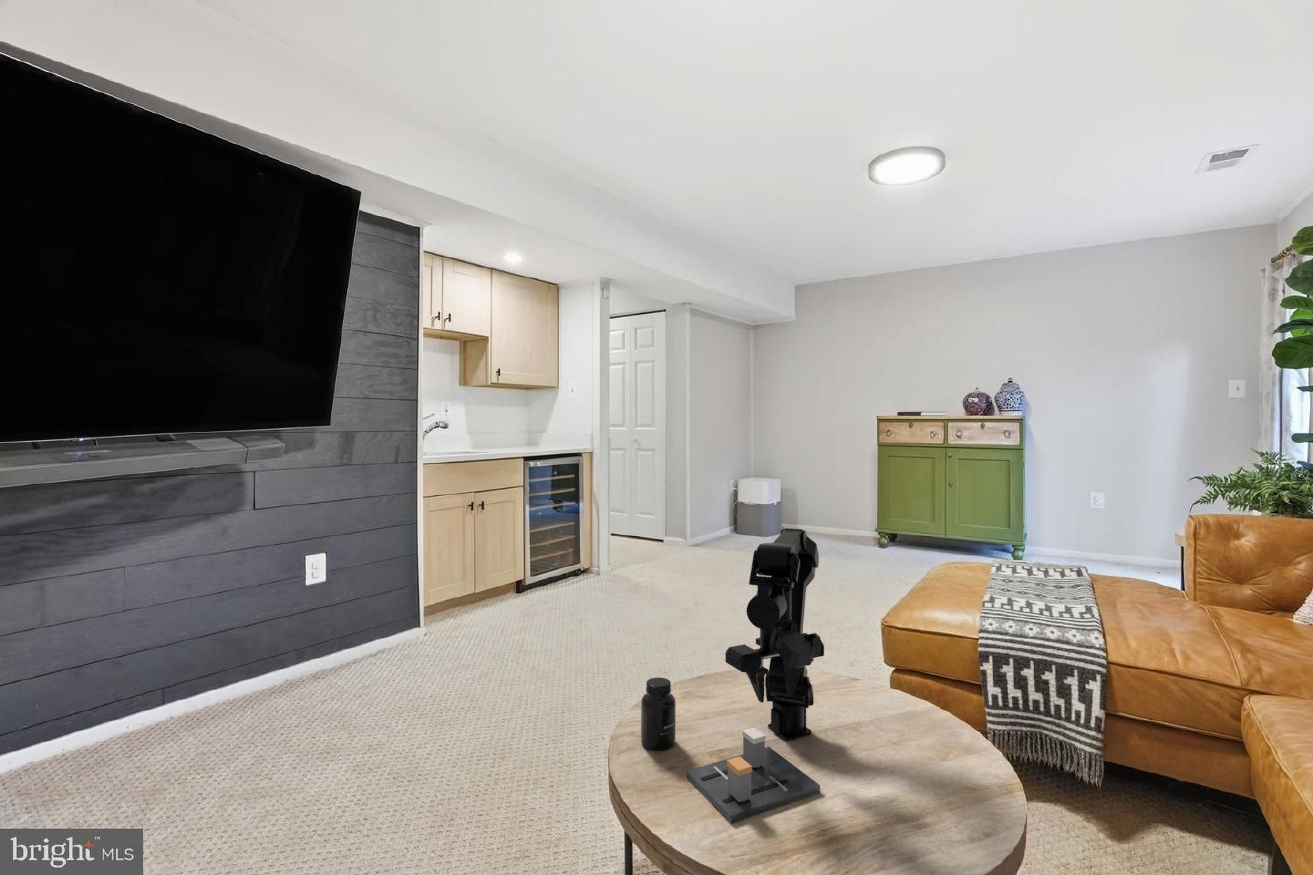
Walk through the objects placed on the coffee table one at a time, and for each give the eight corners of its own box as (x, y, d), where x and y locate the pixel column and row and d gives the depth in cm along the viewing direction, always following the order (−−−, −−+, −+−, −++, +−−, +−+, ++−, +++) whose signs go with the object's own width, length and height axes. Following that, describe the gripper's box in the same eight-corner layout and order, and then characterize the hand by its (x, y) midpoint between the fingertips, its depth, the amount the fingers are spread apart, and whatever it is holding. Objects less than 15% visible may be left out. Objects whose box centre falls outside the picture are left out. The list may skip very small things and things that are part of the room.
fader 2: (754, 755, 109) (754, 727, 109) (765, 764, 106) (765, 735, 106) (742, 759, 108) (742, 730, 108) (753, 768, 105) (753, 738, 105)
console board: (768, 752, 113) (768, 745, 113) (820, 792, 100) (820, 784, 100) (686, 777, 105) (686, 770, 105) (731, 823, 92) (730, 815, 92)
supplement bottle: (672, 753, 113) (672, 690, 113) (637, 749, 114) (637, 687, 114) (678, 735, 119) (678, 676, 119) (645, 732, 121) (645, 673, 121)
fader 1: (740, 787, 99) (739, 756, 99) (752, 798, 96) (751, 766, 96) (726, 791, 98) (726, 760, 98) (738, 802, 95) (738, 770, 95)
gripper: (760, 633, 98) (760, 728, 98) (845, 618, 106) (845, 705, 106) (723, 615, 108) (723, 701, 108) (804, 602, 116) (804, 682, 116)
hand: (775, 698), depth 109 cm, fingers open, 6 cm apart
